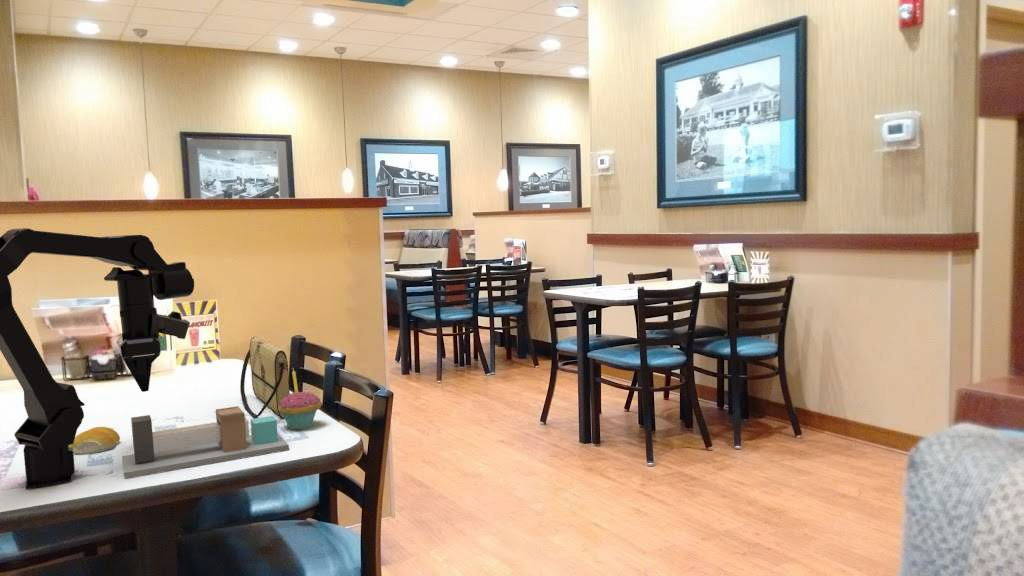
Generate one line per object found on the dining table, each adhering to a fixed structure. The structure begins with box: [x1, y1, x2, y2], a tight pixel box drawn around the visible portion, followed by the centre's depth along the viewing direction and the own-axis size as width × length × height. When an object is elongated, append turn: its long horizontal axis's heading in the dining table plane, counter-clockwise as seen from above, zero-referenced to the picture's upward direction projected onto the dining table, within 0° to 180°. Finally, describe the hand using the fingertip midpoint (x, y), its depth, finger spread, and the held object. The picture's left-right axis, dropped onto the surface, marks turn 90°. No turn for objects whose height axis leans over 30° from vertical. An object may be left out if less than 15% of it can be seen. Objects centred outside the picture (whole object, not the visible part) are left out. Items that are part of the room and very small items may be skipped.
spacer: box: [250, 415, 279, 445], centre depth 141 cm, size 4×4×4 cm
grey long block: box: [130, 414, 250, 463], centre depth 135 cm, size 19×4×7 cm, turn 119°
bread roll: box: [69, 426, 121, 455], centre depth 144 cm, size 8×9×4 cm
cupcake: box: [278, 367, 322, 430], centre depth 154 cm, size 9×8×12 cm
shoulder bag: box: [239, 336, 291, 419], centre depth 171 cm, size 30×7×15 cm, turn 30°
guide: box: [121, 406, 290, 479], centre depth 136 cm, size 27×11×8 cm, turn 119°
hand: (145, 386), depth 139 cm, fingers open, 9 cm apart
